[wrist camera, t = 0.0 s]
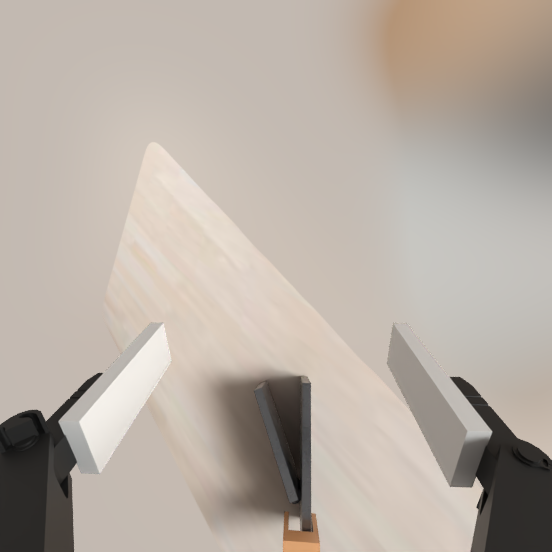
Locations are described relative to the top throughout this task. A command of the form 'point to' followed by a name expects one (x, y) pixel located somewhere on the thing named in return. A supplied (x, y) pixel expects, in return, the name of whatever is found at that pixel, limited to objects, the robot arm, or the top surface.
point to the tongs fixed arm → (305, 457)
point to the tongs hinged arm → (278, 440)
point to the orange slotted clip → (301, 537)
